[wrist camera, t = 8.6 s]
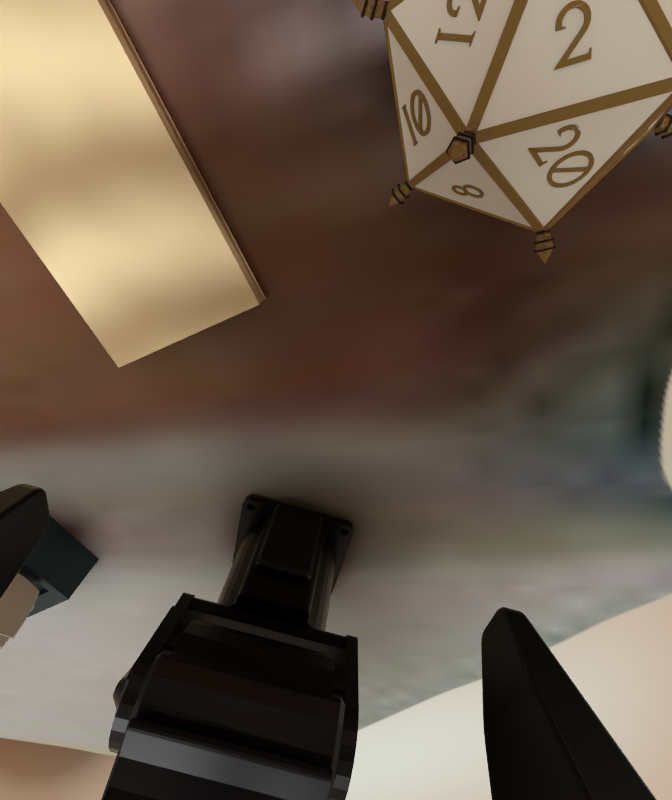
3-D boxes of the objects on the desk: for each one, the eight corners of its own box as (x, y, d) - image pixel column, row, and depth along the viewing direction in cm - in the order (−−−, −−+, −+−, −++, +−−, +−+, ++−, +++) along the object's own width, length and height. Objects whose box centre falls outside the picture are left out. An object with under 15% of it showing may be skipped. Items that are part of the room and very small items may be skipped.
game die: (531, 96, 18) (839, 130, 11) (382, 246, 18) (587, 364, 12) (469, -234, 11) (1129, -646, 5) (241, 13, 12) (523, -24, 5)
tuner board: (265, 298, 19) (259, 304, 19) (129, 359, 22) (118, 367, 21) (-34, -275, 12) (-67, -308, 12) (-186, -93, 15) (-223, -109, 14)
